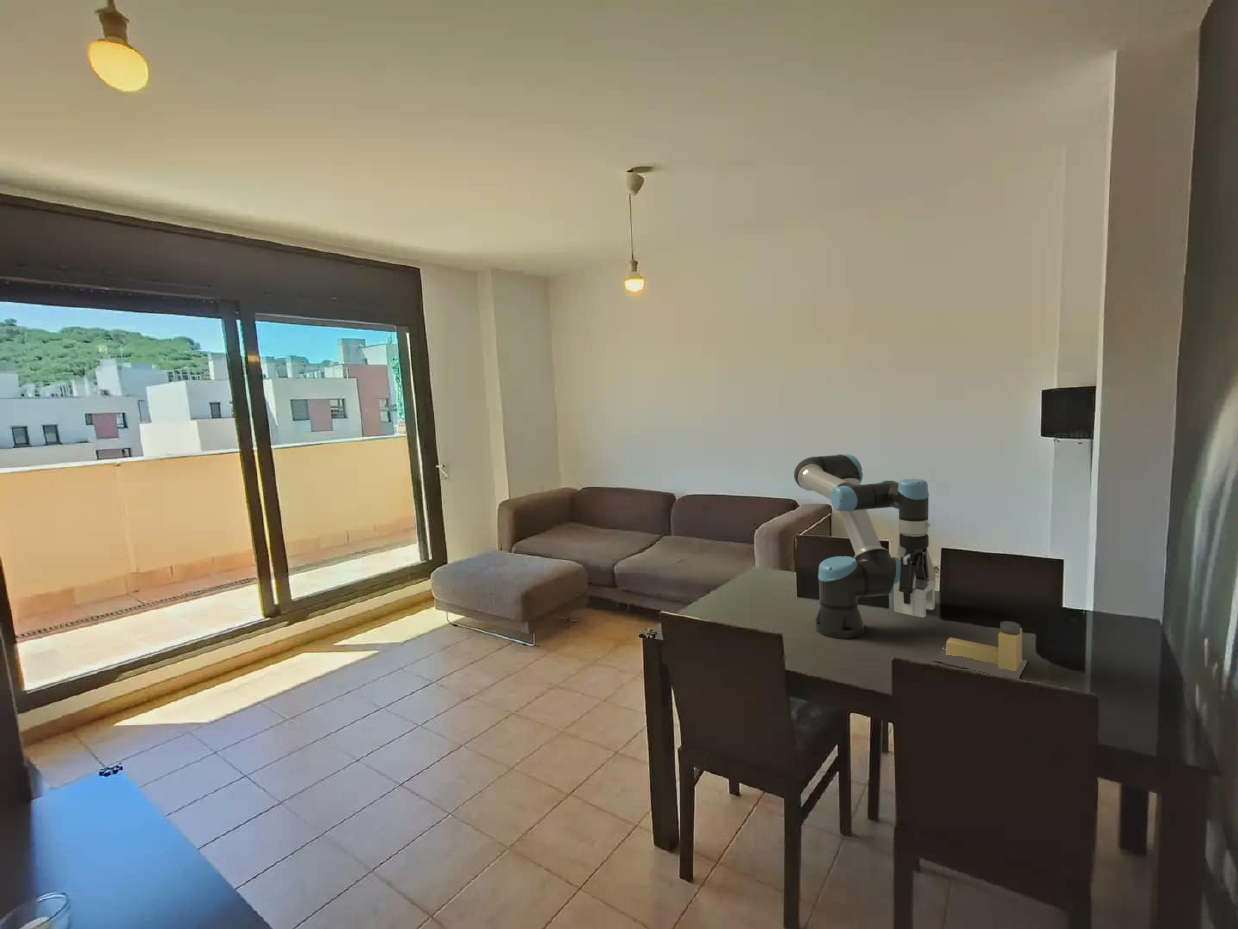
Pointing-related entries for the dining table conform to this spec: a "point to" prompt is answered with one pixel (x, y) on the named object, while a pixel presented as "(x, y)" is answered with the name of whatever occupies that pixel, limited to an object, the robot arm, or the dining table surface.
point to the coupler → (993, 648)
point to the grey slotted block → (917, 597)
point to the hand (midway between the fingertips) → (914, 608)
